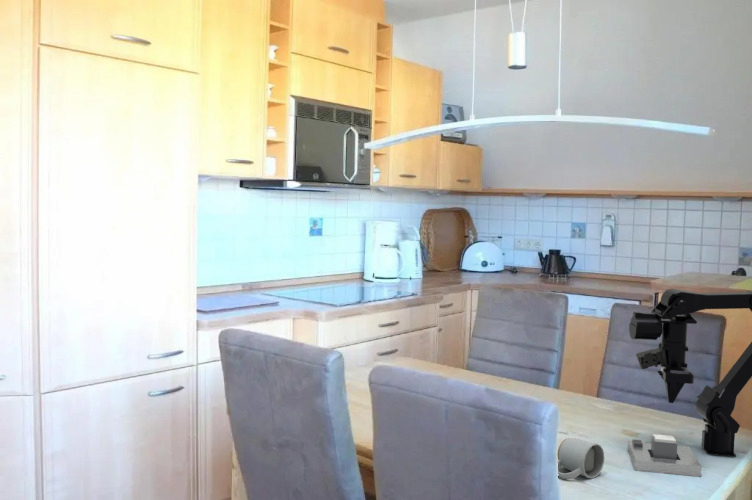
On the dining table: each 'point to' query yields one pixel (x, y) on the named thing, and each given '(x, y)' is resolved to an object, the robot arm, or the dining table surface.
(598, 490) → the dining table surface
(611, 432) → the dining table surface
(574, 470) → the ceramic mug
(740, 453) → the dining table surface
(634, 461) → the socket plate
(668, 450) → the plug
